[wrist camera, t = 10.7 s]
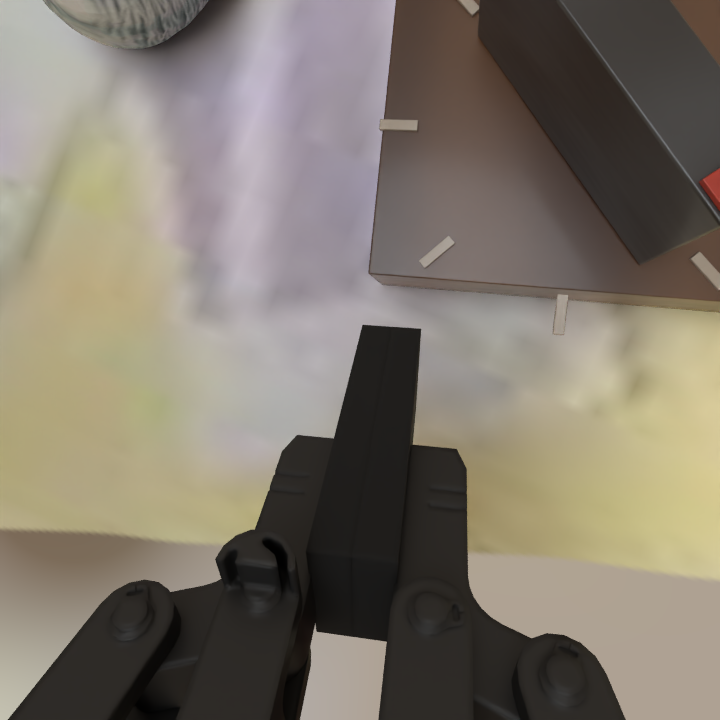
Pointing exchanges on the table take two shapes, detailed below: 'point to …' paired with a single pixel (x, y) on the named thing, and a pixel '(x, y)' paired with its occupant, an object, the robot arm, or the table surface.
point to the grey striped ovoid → (127, 19)
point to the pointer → (621, 108)
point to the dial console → (504, 183)
